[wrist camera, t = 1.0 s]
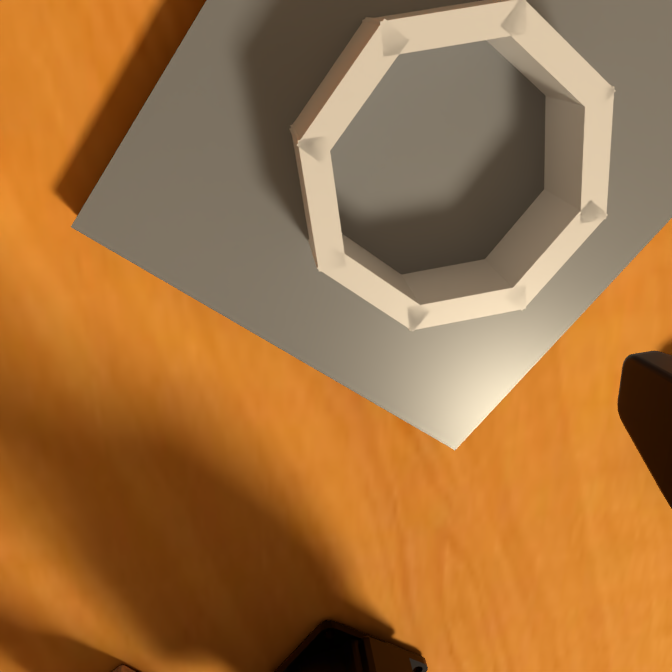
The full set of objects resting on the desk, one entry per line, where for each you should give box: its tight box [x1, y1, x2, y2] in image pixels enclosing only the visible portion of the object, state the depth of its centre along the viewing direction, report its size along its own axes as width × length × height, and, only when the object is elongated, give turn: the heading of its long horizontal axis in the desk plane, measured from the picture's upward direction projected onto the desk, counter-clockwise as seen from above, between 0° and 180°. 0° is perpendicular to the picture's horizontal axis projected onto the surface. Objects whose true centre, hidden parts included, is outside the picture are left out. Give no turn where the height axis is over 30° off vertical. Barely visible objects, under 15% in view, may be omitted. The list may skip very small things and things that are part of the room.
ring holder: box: [71, 0, 672, 450], centre depth 19 cm, size 16×16×4 cm
